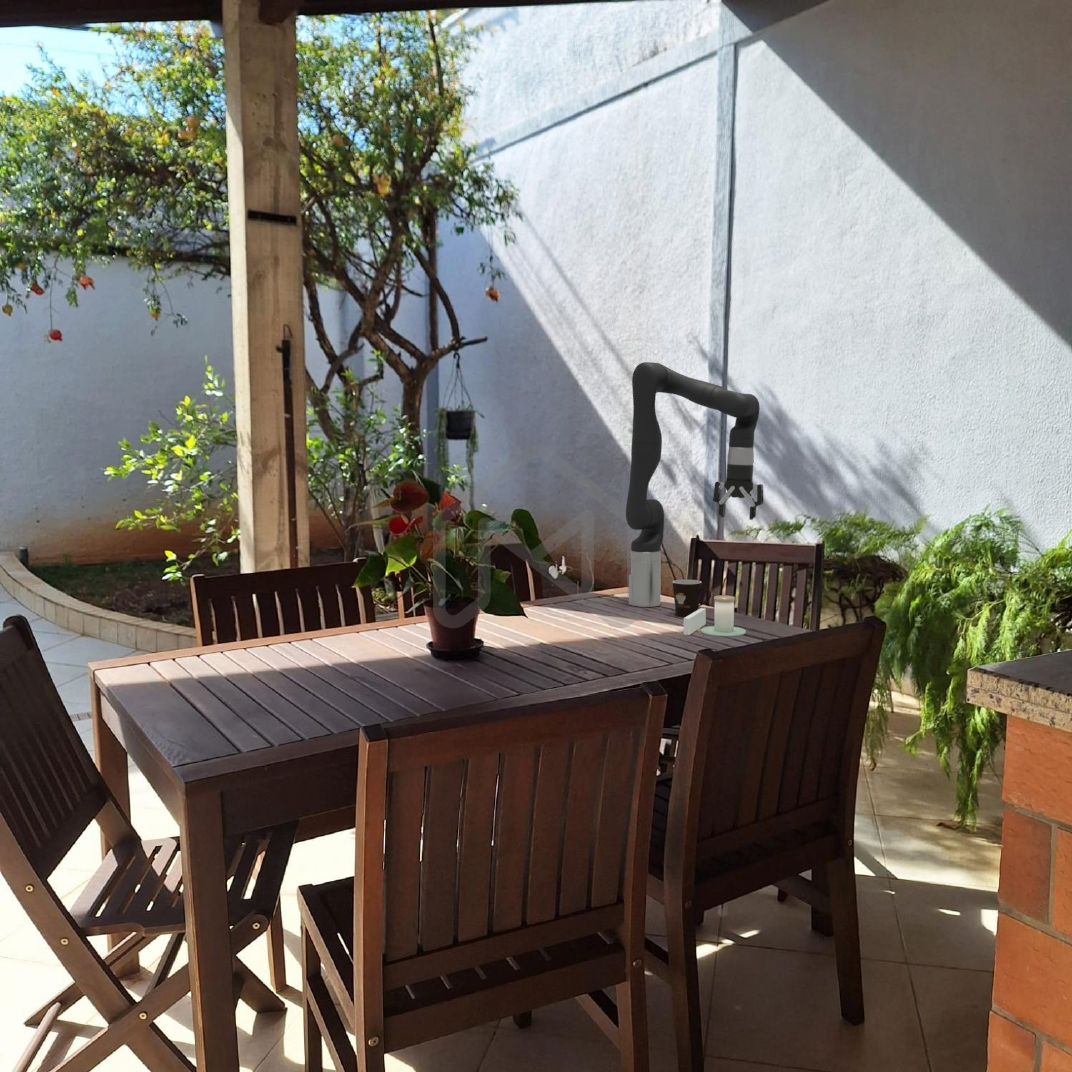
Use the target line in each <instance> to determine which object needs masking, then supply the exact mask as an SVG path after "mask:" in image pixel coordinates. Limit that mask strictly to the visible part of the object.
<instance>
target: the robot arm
mask: <svg viewBox="0 0 1072 1072" xmlns="http://www.w3.org/2000/svg"><path fill="white" fill-rule="evenodd" d="M631 380H632V381H631V382H632V386H631V387H632V402H633V407H632V408H633V411H632V412H633V413H632V435H631V454H630V458H631V459H630V474H629V483H628V484H629V485H628V491H627V498H626V499H627V500H626V505H625V518H626V523H627V525H628V527H629V528H630V529H632V530H635V531H640V530H641V532H640V534H639V536H638V537H637V538H635V539H633V540H632V542H631V544H630V574H629V575H628V605H629V606H634V607H641V608H649V607H650V608H652V607H658V606H660V605H661V580H662V579H661V576H662V575H661V572H662V571H661V566H662V565H661V562H662V561H661V554H662V553H661V551H662V550H661V549H662V548H661V546H662V544H663V541H664V532H665V531H664V530H665V529H664V528H665V511H664V507H663V504H662V503H661V502H660V501H659V500H657V499H654V498H653V499H652V498H651V499H650V498H649V499H648V496H647V495H648V489H649V485H650V483H651V479H652V477H653V476H654V474H655V472H656V470H657V468H658V466H659V464H660V462H661V458H662V448H663V446H662V445H663V437H662V436H663V435H662V430H661V427H660V424H659V420H658V417H657V415H656V414H657V413H656V398H657V397H656V395H657V393H663V394H671V395H676V396H679V397H682V398H684V399H686V400H688V401H689V402H692V403H694V404H696V405H699V406H701V407H704V408H709V409H711V410H716V411H718V412H721V413H723V414H725V415H728V416H729V417H732V418H735V423H734V426H733V427H731V429H730V430H729V440H728V451H727V455H726V456H727V457H726V458H727V459H726V474H725V475H726V477H725V482H724V481H723V482H722V481H719V480H718V481H715V483H714V489H713V495H712V497H713V499H712V501H713V502H715V503H716V504H718V515H719V516H720V518H725V517H726V503H727V501H728V500H729V499H730V498H739V499H744V498H745V499H746V500H747V502H748V503H749V505H750V507H749V520H751V521H752V520H754V519H755V518H756V516H757V507H758V506H762V505H763V504H764V484H762V483H759V484H754V483H753V476H754V463H755V453H754V445H755V444H754V443H755V431H756V428H757V424H758V421H759V420H758V419H759V416H760V402H759V399H758V398H757V397H756V395H755V394H754V395H753V394H752V393H741V392H736V391H732V390H729V389H728V388H726V387H723V386H721V385H718V384H715V383H712V382H708V381H704V380H700V379H696V378H693V377H689V376H687V375H684V374H681V373H679V372H678V371H675V370H673V369H671V368H669V367H668V366H666V365H664V364H662V363H659V362H653V361H652V362H650V361H649V362H648V361H646V362H644V361H643V362H641V363H638V365H636V367H635V368H634V370H633V373H632V378H631ZM723 488H725V491H726V493H724V495H723V496H722V497H721V490H722V489H723ZM753 489H754V491H755V493H756V494H757V495H756V497H757V498H756V499H755V498H754V496H753V494H752V493H751V492H752V490H753Z"/></svg>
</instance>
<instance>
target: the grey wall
mask: <svg viewBox="0 0 1072 1072" xmlns="http://www.w3.org/2000/svg"><path fill="white" fill-rule="evenodd" d="M706 609H707V608H703V607H701V608H698V610H697V611H695V612H693V613H692V614H690V615H688V616H687V617H683V636H690V635H692V634H693V633H695V632H696V631H697V630H699V629H702V628H703V627H704V626H705V625H706V624H707V622H706V621H707V617H706V616H707V610H706Z"/></svg>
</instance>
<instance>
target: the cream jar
mask: <svg viewBox="0 0 1072 1072" xmlns="http://www.w3.org/2000/svg"><path fill="white" fill-rule="evenodd" d="M713 601H714V613H713V614H714V615H713V616H714V618H713V619H714V620H713V621H714V622H713V623H714V625H713V626H714V631H717V632H733V631H734V627H735V601H736V597H735V596H734V595H733V596H732V595H720V594H719V595H715V596H714V597H713Z"/></svg>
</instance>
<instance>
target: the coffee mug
mask: <svg viewBox="0 0 1072 1072" xmlns="http://www.w3.org/2000/svg"><path fill="white" fill-rule="evenodd" d="M702 583H703V582H702V581H701V580H697V579H676V580H672V583H671V584H672V591H673V600H674V609H675V616H676V617H680V618H685V617H687V616H688V615H690V614H692V613H693V612H695V611H697V610H698V609H700V608H699V607H701V606H704V605H705V604H706V603H708V602H709V601H710V600H711V598H712V593H711V592H712V591H711V590H710V589H709V588H707V587H702ZM702 591H707V593H708V598H707V599H706V600H704V601H703V602H701V603H700V598H701V593H702Z"/></svg>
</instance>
